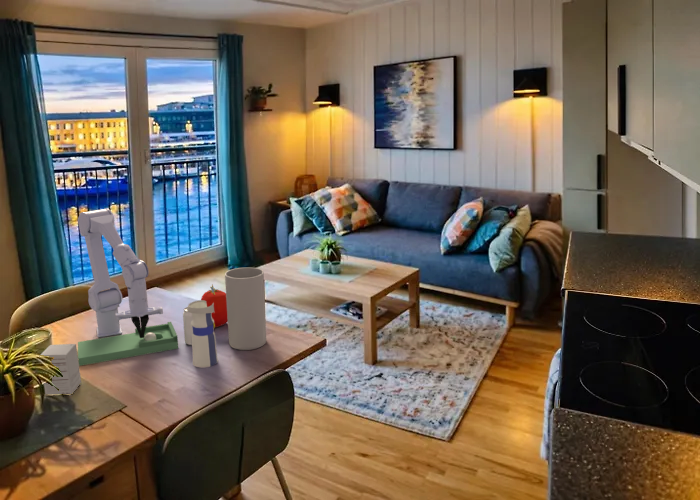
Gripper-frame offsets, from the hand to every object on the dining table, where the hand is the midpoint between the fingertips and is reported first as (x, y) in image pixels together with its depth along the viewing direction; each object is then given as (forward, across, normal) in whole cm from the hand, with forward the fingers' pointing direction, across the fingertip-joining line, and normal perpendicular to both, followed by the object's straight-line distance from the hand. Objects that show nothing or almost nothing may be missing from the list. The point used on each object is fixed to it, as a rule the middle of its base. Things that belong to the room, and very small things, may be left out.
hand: (141, 336), depth 188 cm
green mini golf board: (+3, -4, 0) cm, 6 cm away
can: (+4, +16, -4) cm, 17 cm away
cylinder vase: (+4, +32, -13) cm, 35 cm away
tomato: (+4, +26, +7) cm, 28 cm away
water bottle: (+4, +16, -21) cm, 27 cm away
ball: (+1, +3, +1) cm, 3 cm away
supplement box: (+4, -24, -22) cm, 32 cm away
